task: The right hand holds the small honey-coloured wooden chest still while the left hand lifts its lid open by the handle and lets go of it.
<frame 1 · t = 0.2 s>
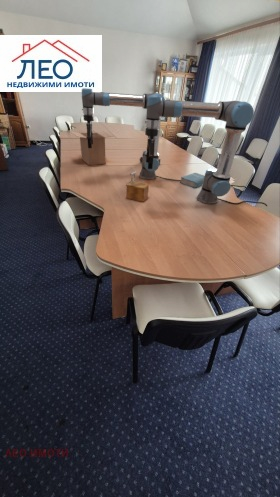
left hand: (90, 146, 173), 28 cm above the table, tool pointing down, fingers open, 13 cm apart
right hand: (149, 165, 140), 28 cm above the table, tool pointing down, fingers open, 13 cm apart
chest: (137, 197, 167), on the table
laser sight: (149, 163, 242), on the table
book: (194, 183, 201), on the table
box: (93, 161, 237), on the table
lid: (137, 179, 159), point 14 cm above the table, hinge at 0.0°
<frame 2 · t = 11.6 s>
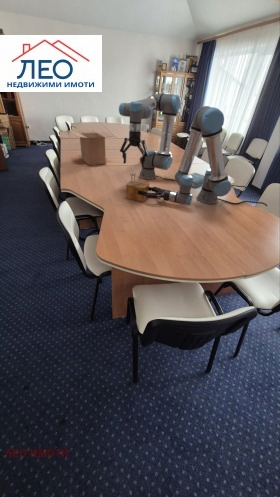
left hand: (133, 164, 154), 24 cm above the table, tool pointing down, fingers open, 13 cm apart
right hand: (140, 189, 163), 7 cm above the table, tool horizontal, fingers closed on chest, 10 cm apart
chest: (137, 197, 167), on the table, touching right hand
everything else where it was.
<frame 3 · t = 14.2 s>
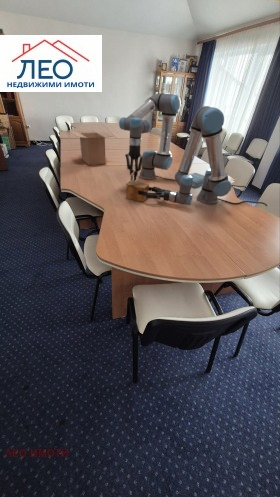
left hand: (133, 179, 160), 13 cm above the table, tool pointing down, fingers closed on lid, 2 cm apart
right hand: (140, 189, 163), 7 cm above the table, tool horizontal, fingers closed on chest, 10 cm apart
chest: (137, 197, 167), on the table, touching right hand
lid: (138, 179, 159), point 14 cm above the table, hinge at 2.3°, touching left hand
everything else where it was.
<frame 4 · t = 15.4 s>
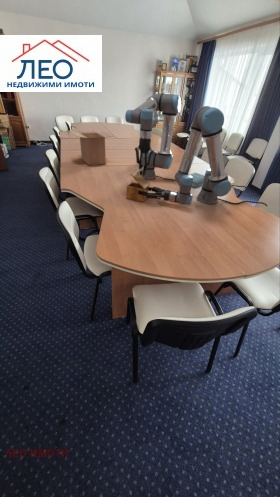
left hand: (142, 174, 155), 18 cm above the table, tool pointing down, fingers closed on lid, 2 cm apart
right hand: (141, 189, 163), 7 cm above the table, tool horizontal, fingers closed on chest, 10 cm apart
chest: (137, 197, 167), on the table, touching right hand
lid: (143, 175, 156), point 17 cm above the table, hinge at 38.6°, touching left hand
everything else where it was.
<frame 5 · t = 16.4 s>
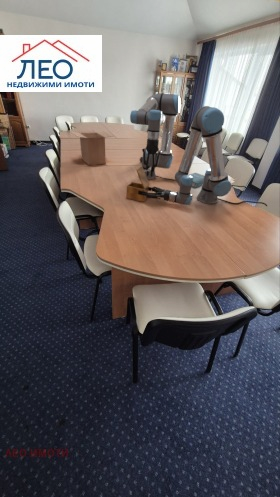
left hand: (149, 175, 154), 18 cm above the table, tool pointing down, fingers open, 2 cm apart
right hand: (140, 189, 163), 7 cm above the table, tool horizontal, fingers closed on chest, 10 cm apart
chest: (137, 197, 167), on the table, touching right hand
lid: (147, 175, 155), point 18 cm above the table, hinge at 62.1°
everything else where it was.
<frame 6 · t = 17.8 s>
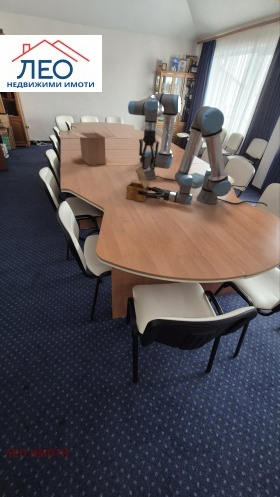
left hand: (147, 167, 152), 23 cm above the table, tool pointing down, fingers open, 5 cm apart
right hand: (140, 189, 163), 7 cm above the table, tool horizontal, fingers closed on chest, 10 cm apart
chest: (137, 197, 167), on the table, touching right hand
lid: (147, 175, 155), point 18 cm above the table, hinge at 59.3°, touching left hand
everything else where it was.
when the right hand's fingers open (7 cm above the table, at t = 20.5 s): chest stays where it is, on the table.
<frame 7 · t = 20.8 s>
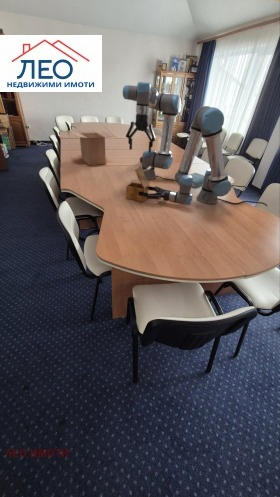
left hand: (140, 150, 147), 33 cm above the table, tool pointing down, fingers open, 13 cm apart
right hand: (141, 190, 162), 7 cm above the table, tool horizontal, fingers open, 12 cm apart
chest: (137, 197, 167), on the table
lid: (146, 175, 155), point 18 cm above the table, hinge at 57.8°
everything else where it was.
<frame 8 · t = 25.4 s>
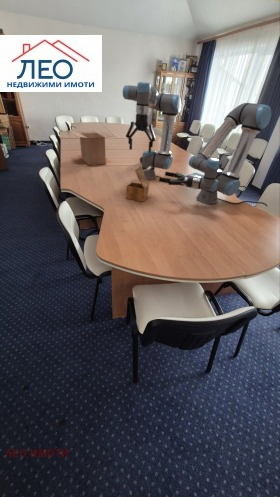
left hand: (140, 150, 147), 33 cm above the table, tool pointing down, fingers open, 13 cm apart
right hand: (162, 176, 151), 19 cm above the table, tool horizontal, fingers open, 13 cm apart
nothing on the table moved.
at the end: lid at +58° (first picture: +0°); the left hand is holding nothing; the right hand is holding nothing; chest tilted 0°; chest never tilted more than 1° during the clip; chest moved 0.1 cm from its start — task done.
